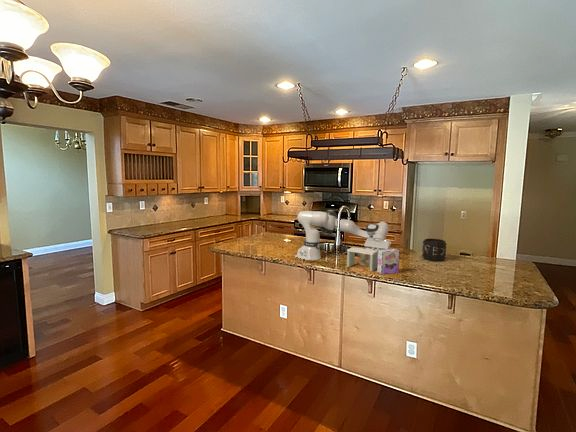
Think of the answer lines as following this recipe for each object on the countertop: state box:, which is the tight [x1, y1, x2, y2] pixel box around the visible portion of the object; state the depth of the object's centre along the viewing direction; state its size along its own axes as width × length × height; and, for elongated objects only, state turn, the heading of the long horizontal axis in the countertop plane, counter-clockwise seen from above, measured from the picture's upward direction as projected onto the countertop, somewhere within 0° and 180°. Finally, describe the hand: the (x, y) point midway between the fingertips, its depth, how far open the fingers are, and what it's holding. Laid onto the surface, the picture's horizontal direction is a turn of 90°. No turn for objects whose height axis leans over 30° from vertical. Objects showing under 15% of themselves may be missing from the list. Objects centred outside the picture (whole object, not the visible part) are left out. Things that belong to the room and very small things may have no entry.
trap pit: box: [350, 267, 365, 272], centre depth 246 cm, size 10×2×1 cm, turn 54°
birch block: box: [358, 253, 370, 267], centre depth 261 cm, size 10×10×8 cm
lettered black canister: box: [421, 238, 447, 263], centre depth 276 cm, size 18×18×16 cm
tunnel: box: [346, 246, 378, 272], centre depth 251 cm, size 20×10×13 cm, turn 54°
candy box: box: [376, 248, 400, 275], centre depth 239 cm, size 14×6×16 cm, turn 105°
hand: (374, 253), depth 269 cm, fingers closed
